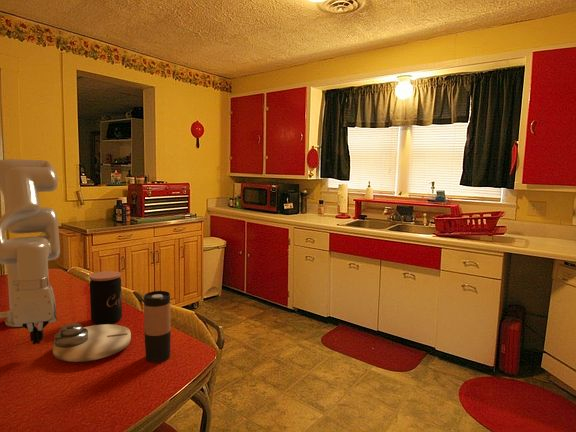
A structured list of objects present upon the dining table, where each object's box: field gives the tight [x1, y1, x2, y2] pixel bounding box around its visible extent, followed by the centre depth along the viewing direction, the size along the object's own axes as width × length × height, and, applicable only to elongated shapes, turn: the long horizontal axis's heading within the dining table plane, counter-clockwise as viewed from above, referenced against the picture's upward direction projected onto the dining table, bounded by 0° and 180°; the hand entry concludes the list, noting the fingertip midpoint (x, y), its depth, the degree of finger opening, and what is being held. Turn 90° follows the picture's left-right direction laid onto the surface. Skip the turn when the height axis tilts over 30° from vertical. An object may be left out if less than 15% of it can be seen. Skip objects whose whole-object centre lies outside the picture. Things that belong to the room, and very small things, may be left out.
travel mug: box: [143, 290, 172, 364], centre depth 114 cm, size 8×8×20 cm
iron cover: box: [54, 322, 88, 348], centre depth 117 cm, size 9×9×5 cm
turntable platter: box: [52, 324, 132, 363], centre depth 119 cm, size 22×22×2 cm
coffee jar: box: [89, 270, 123, 325], centre depth 141 cm, size 11×11×18 cm
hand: (37, 342), depth 113 cm, fingers closed
